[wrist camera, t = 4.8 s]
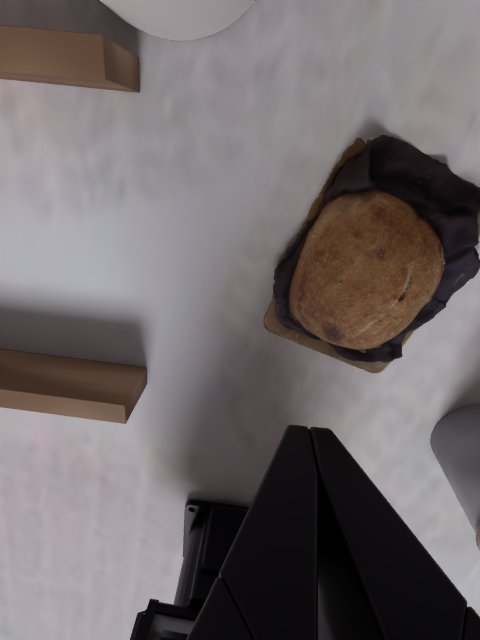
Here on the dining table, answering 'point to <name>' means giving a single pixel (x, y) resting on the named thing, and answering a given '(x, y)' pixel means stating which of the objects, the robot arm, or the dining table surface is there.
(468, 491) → the grey sugar pot
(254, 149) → the dining table surface
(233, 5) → the pill bottle
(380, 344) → the bread roll
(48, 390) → the tray
